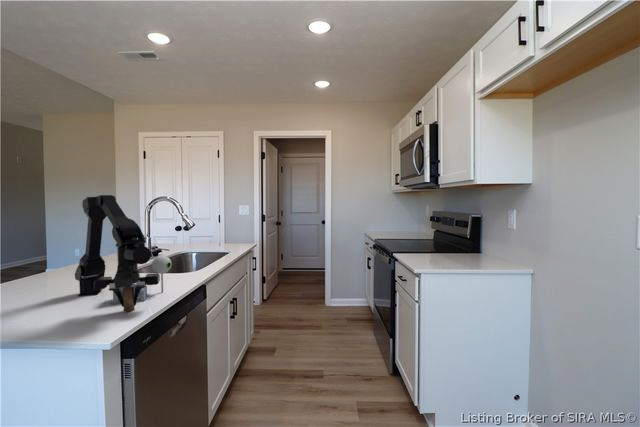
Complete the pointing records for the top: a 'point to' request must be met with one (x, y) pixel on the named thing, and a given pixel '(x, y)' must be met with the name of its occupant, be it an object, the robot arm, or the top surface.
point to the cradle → (142, 295)
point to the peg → (128, 299)
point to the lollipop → (161, 266)
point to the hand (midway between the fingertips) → (129, 305)
